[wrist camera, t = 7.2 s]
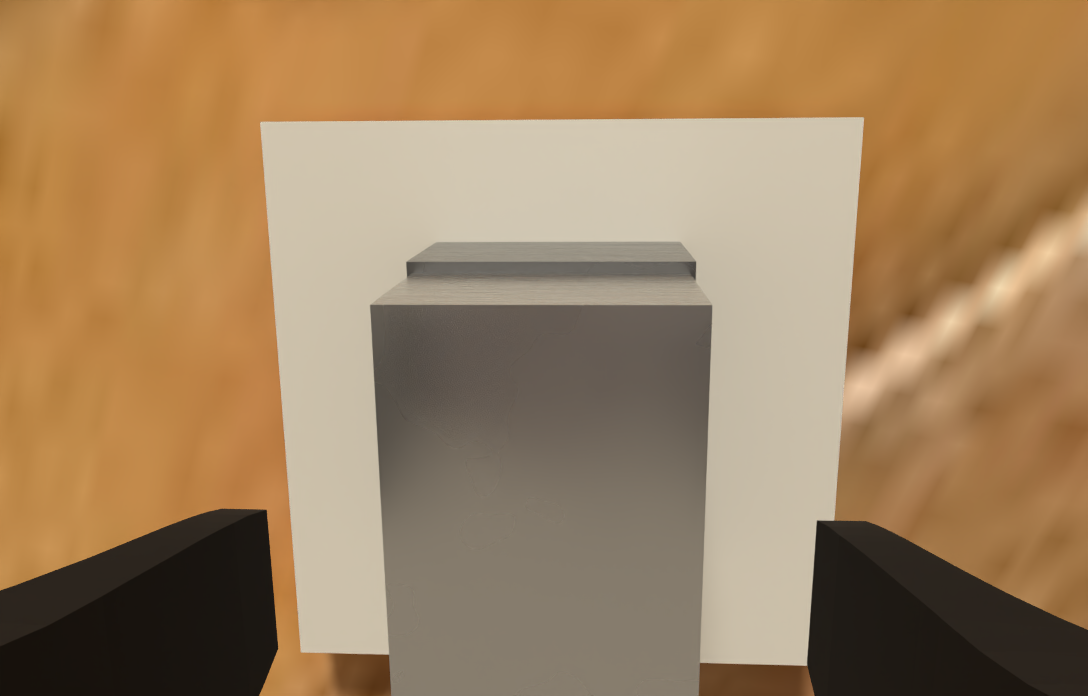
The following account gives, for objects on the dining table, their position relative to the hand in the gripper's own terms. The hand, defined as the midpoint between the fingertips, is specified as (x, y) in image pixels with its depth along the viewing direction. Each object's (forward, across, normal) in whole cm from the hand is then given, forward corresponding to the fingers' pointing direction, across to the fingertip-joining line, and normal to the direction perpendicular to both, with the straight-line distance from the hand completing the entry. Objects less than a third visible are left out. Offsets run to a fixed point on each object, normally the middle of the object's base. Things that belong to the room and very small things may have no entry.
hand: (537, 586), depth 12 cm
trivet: (+10, 0, 0) cm, 10 cm away
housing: (+8, 0, 0) cm, 8 cm away
